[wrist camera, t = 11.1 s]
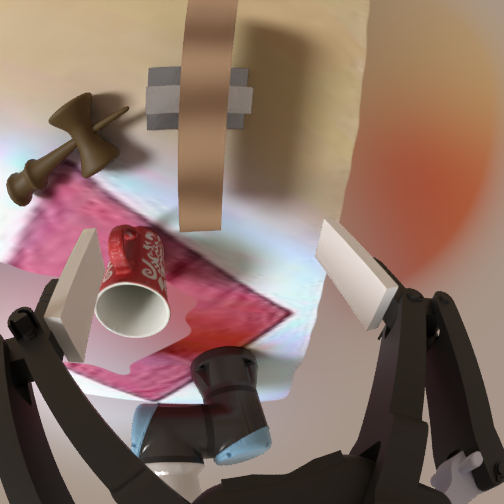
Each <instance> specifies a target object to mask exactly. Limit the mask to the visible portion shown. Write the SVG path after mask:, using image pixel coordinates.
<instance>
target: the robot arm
mask: <svg viewBox="0 0 504 504" xmlns="http://www.w3.org/2000/svg"><path fill="white" fill-rule="evenodd" d="M315 257H316V258H317V260H318V261H319V263H320V264H321V265H322V267H323V268H324V270H325V271H326V272H327V274H328V275H329V277H330V278H331V280H332V281H333V282H334V284H335V285H336V287H337V288H338V290H339V291H340V292H341V294H342V296H343V297H344V298H345V300H346V301H347V303H348V304H349V306H350V307H351V309H352V310H353V312H354V313H355V315H356V316H357V318H358V319H359V321H360V322H361V324H362V325H363V327H364V328H365V330H366V331H368V330H372V329H376V328H378V326H379V325H380V323H381V321H382V319H383V321H384V322H385V324H386V325H385V327H384V328H383V330H382V332H381V334H380V336H379V337H378V340H380V338H381V337H382V340H381V346H380V351H379V357H378V362H377V367H376V372H375V376H374V381H373V386H372V390H371V394H370V398H369V402H368V406H367V410H366V413H365V417H364V420H363V424H362V427H361V431H360V434H359V437H358V440H357V442H356V443H355V445H354V447H353V448H352V450H351V451H350V453H349V455H342V453H341V450H339V451H337V452H334V453H331V454H328V455H325V456H322V457H319V458H316V459H313V460H312V461H310V462H308V463H307V464H305V465H303V466H301V467H300V468H298V469H296V470H294V471H293V472H291V473H289V474H284V475H255V474H254V475H253V474H252V475H247V476H241V477H235V478H229V479H222V480H221V484H218V485H216V486H214V487H211V488H209V489H207V490H206V491H205V492H203V493H202V494H201V489H200V485H199V480H198V474H199V473H200V471H201V470H202V469H203V468H204V461H203V459H207V458H214V462H216V464H217V465H232V464H236V463H240V462H244V461H247V460H250V459H252V458H255V457H257V456H259V455H261V454H263V453H264V452H266V451H267V450H268V449H269V448H270V447H271V444H272V441H271V437H270V433H269V427H268V425H267V422H266V419H265V416H264V413H263V410H262V406H261V403H260V400H259V397H258V393H257V390H256V383H257V369H258V367H257V362H256V359H255V356H254V355H253V354H252V353H251V352H250V351H248V350H246V349H243V348H239V347H222V348H216V349H212V350H209V351H207V352H205V353H203V354H201V355H199V356H198V357H197V358H196V359H195V360H194V361H193V362H192V364H191V376H192V379H193V381H194V383H195V385H196V387H197V389H198V391H199V392H200V394H201V396H202V398H203V402H204V404H161V403H157V404H140V405H139V406H138V407H137V408H136V410H135V413H134V417H133V423H132V435H131V441H132V447H131V450H132V451H131V450H130V449H129V448H128V447H127V445H126V444H125V443H124V442H123V441H122V440H121V439H120V438H119V437H118V436H117V434H116V433H115V432H114V431H113V430H112V429H111V428H110V426H109V425H108V424H107V423H106V422H105V421H104V419H103V418H102V417H101V415H100V414H99V413H98V412H97V410H96V409H95V408H94V407H93V405H92V404H91V403H90V401H89V400H88V399H87V397H86V396H85V395H84V393H83V392H82V390H81V389H80V388H79V386H78V385H77V383H76V382H75V380H74V379H73V377H72V376H71V374H70V373H69V371H68V370H67V368H66V367H65V365H64V364H63V362H62V361H63V356H64V355H65V356H66V358H67V360H68V361H69V362H84V357H85V352H86V347H87V342H88V337H89V332H90V327H91V322H92V317H93V313H94V309H95V305H96V301H97V297H98V293H99V290H100V286H101V282H102V279H103V275H104V272H105V267H104V263H103V258H102V254H101V250H100V245H99V240H98V236H97V231H96V228H91V229H83V231H82V233H81V235H80V237H79V239H78V241H77V243H76V245H75V247H74V249H73V251H72V253H71V255H70V257H69V259H68V261H67V263H66V265H65V267H64V269H63V271H62V274H61V276H60V278H59V279H52V280H51V281H50V282H49V283H48V284H47V285H46V286H45V288H44V291H43V293H42V295H41V297H40V300H39V302H38V304H37V307H36V309H35V312H33V310H31V308H29V307H21V308H19V309H17V310H15V311H14V312H13V313H12V314H11V315H10V317H9V319H8V327H9V329H10V331H11V332H12V334H13V335H14V337H13V338H10V339H6V340H4V339H3V337H2V336H1V335H0V478H1V481H2V484H3V487H4V490H5V493H6V495H7V498H8V500H9V503H10V504H75V503H74V501H73V499H72V497H71V495H70V493H69V491H68V489H67V487H66V485H65V483H64V480H63V478H62V476H61V474H60V472H59V469H58V467H57V465H56V462H55V460H54V457H53V455H52V452H51V449H50V446H49V444H48V441H47V438H46V435H45V432H44V429H43V426H42V423H41V419H40V416H39V412H38V409H37V405H36V401H35V397H34V393H33V388H32V384H31V382H34V381H35V383H36V385H37V386H38V388H39V390H40V392H41V394H42V396H43V398H44V400H45V401H46V403H47V405H48V406H49V408H50V410H51V412H52V413H53V415H54V417H55V418H56V420H57V422H58V423H59V425H60V426H61V428H62V429H63V431H64V433H65V434H66V436H67V437H68V438H69V440H70V441H71V442H72V444H73V446H74V447H75V448H76V450H77V451H78V452H79V454H80V455H81V456H82V458H83V459H84V460H85V462H86V463H87V464H88V465H89V467H90V468H91V469H92V470H93V472H94V473H95V474H96V475H97V476H98V478H99V479H100V480H101V481H102V482H103V483H104V485H105V486H106V487H107V488H108V489H109V491H110V492H111V495H112V497H113V498H114V500H115V501H116V502H117V503H118V504H467V503H468V502H470V501H471V500H472V499H474V498H475V497H476V496H477V495H479V494H481V493H483V492H485V491H487V490H489V489H491V488H494V487H495V486H498V485H500V484H501V483H502V482H504V448H503V446H502V444H501V441H500V439H499V437H498V434H497V432H496V430H495V428H494V424H493V419H492V415H491V410H490V405H489V402H488V397H487V394H486V390H485V386H484V382H483V379H482V375H481V372H480V369H479V366H478V363H477V360H476V357H475V354H474V351H473V348H472V345H471V342H470V340H469V337H468V334H467V332H466V329H465V327H464V324H463V322H462V319H461V317H460V314H459V312H458V310H457V307H456V305H455V303H454V301H453V299H452V298H451V297H450V296H449V295H448V294H446V293H445V292H442V291H437V292H436V293H435V294H434V296H433V298H432V299H431V298H430V299H429V298H424V297H423V295H422V294H421V293H419V292H418V291H417V290H415V289H411V288H405V287H404V286H403V285H402V284H401V283H400V282H399V280H398V279H397V278H396V277H395V276H394V275H393V274H391V272H390V270H388V269H387V267H386V266H385V265H384V264H383V263H382V262H381V261H379V260H378V259H376V258H374V257H372V256H371V255H370V254H369V253H368V252H367V251H366V250H365V249H364V248H363V247H362V246H361V245H360V244H359V243H358V242H357V240H355V238H354V237H353V236H352V235H351V234H350V233H349V232H348V231H347V230H346V229H345V228H344V227H343V226H342V225H341V224H340V223H339V222H338V221H337V220H336V219H335V218H324V220H323V225H322V229H321V233H320V238H319V242H318V246H317V250H316V254H315ZM438 330H440V333H439V336H438V334H437V331H438ZM425 388H426V395H427V401H428V409H429V417H430V426H431V437H432V449H433V457H434V462H435V466H436V470H437V471H436V474H434V475H433V476H432V478H431V485H432V486H433V487H435V489H433V488H431V487H428V486H426V485H423V484H421V483H419V480H420V475H421V471H422V466H423V461H424V456H425V449H426V443H427V437H428V424H427V422H423V421H422V411H423V403H424V391H425Z"/></svg>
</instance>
